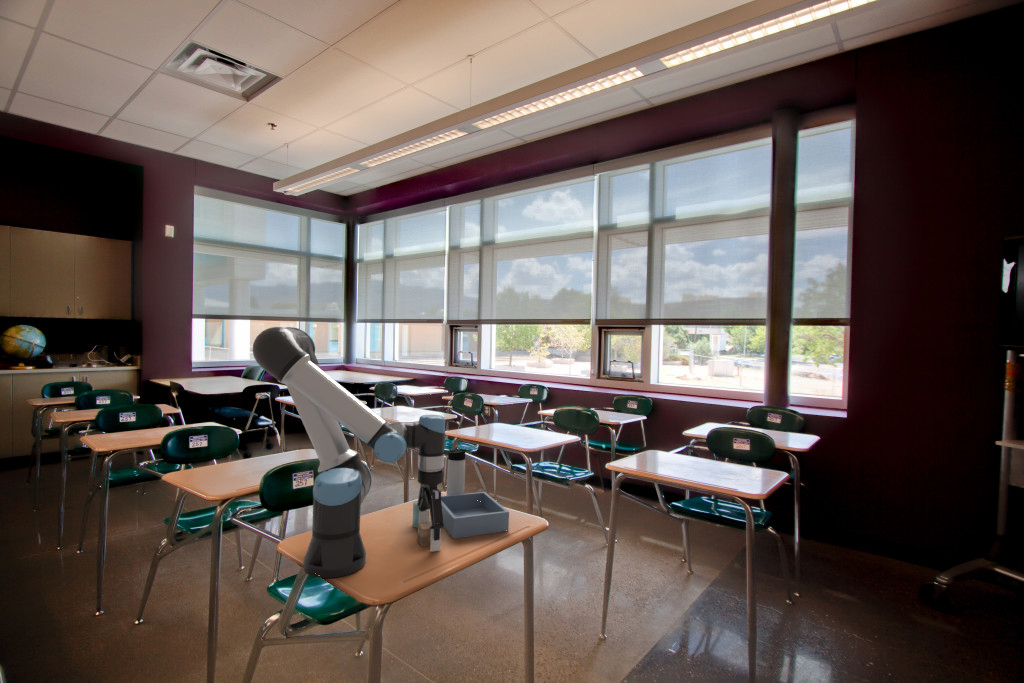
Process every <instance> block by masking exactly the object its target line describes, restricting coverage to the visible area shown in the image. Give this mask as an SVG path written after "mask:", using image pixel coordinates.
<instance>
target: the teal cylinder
mask: <svg viewBox="0 0 1024 683" xmlns="http://www.w3.org/2000/svg"><path fill="white" fill-rule="evenodd" d="M417 503H418V500H415V501H413V503H412V527H413V528H417V529H418V523H419V511H420V510H419V506H418V505H417ZM427 510H428V511H429V512H428V522H429V521H430V509H427Z"/></svg>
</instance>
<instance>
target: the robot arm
mask: <svg viewBox="0 0 1024 683" xmlns="http://www.w3.org/2000/svg"><path fill="white" fill-rule="evenodd" d="M252 355H253V358H254V360H255V362H256V363H257V364H258V365H259V366H260V367H261V368H262V369H263V370H264V371H266V372H267V373H268V374H270V376H272V377H273V378H275V379H276V380H277V382H279V383H280V384H282V385H285V386H286V388H287V390H288V392H289V394H290V397H291V399H292V401H293V403H294V405H295V408H296V411H297V412H298V415H299V417H300V420H301V421H302V425H303V426H304V428H305V431H306V434H307V435H308V438H309V440H310V442H311V444H312V446H313V449H314V451H315V453H316V455H317V458H318V460H319V466H318V468H317V472H318V475H317V476H316V477H315V480H314V483H313V488H312V524H311V525H312V526H311V528H312V531H311V539H310V542H309V545H308V547H307V550H306V552H305V556H304V557H303V571H304V573H306V575H309V576H312V577H315V578H319V579H333V578H340V577H345V576H348V575H352V574H353V573H357V572H358V571H360V570H361V569H362V568H363V567H365V565H366V563H367V562H366V560H367V558H366V557H367V553H366V548H365V546H364V541H363V539H362V538H363V537H362V535H361V510H362V509H361V508H362V504H363V502H364V500H365V498H366V497H367V496H368V494H369V492H370V490H371V487H372V479H373V478H372V473H371V470H370V468H369V466H368V465H367V464H366V463H364V461H362V460H361V457H360V455H359V453H358V451H357V450H354V449H351V448H350V445H349V443H348V442H347V441H348V440H347V439H346V437H345V435H344V432H343V430H342V427H341V425H342V426H343V427H344V428H345V429H347V430H348V431H349V432H350V433H352V434H353V435H355V437H357V438H358V439H359V440H361V441H362V442H364V443H365V444H366V445H367V446H368V447H369V448H371V450H373V451H374V453H375V456H376V458H377V459H378V460H379V461H381V462H382V463H387V464H391V463H395V462H397V461H399V460H400V459H401V458H402V457H403V456H404V455H405V453H406V451H407V449H408V450H409V449H413V450H414V449H415V450H416V449H418V453H417V468H418V470H417V482H418V484H420V486H419V487H420V488H419V493H418V497H417V501H418V503H417V505H418V506H419V510H420V511H419V523H421V522H428V512H429V517H430V521H431V523H432V526H430V529H431V539H430V545H429V550H430V552H439V551H441V540H442V536H441V533H442V529H443V528H444V524H443V514H442V503H441V496H442V491H441V490H439V489H438V485H440V484H442V483H443V482H444V480H445V469H444V467H445V460H447V457H446V456H445V447H446V446H445V445H446V444H445V442H446V420H445V418H444V416H442V415H440V414H423V415H421V416H420V417H418V418H419V419H418V421H416V422H403V421H400V422H399V421H396V422H395V421H386V420H385V419H384V418H383V417H382V416H380V415H379V414H378V413H376V412H375V411H374V410H372V409H371V407H369V406H368V405H366V404H365V403H364V402H362V400H360V399H359V398H358V397H356V396H355V395H354V394H353V393H351V392H350V391H349V390H347V388H345V387H344V386H343V385H341V384H340V383H339V382H337V381H336V380H335V379H333V378H332V376H331V375H329V374H328V373H326V372H325V371H323V370H322V369H321V368H320V366H321V365H320V363H319V360H318V359H317V356H316V344H315V341H314V339H313V338H312V337H311V335H310V334H309V333H307V332H306V331H304V330H302V329H300V328H297V327H293V326H288V327H281V326H273V327H269V328H266V329H263V330H262V331H261V332H260V333H259V334H258V335H257V336H256V338H254V341H253V345H252ZM340 424H341V425H340ZM427 509H429V511H428V510H427ZM315 573H316V574H315ZM318 575H320V576H318ZM322 577H323V578H322Z"/></svg>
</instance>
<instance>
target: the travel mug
mask: <svg viewBox="0 0 1024 683" xmlns="http://www.w3.org/2000/svg"><path fill="white" fill-rule="evenodd" d="M467 452H468V450H467V448H455V449H451V450H449V451H448V452H447V473H446V475H447V477H446V496H447V495H457V494H465V484H466V483H465V482H466V480H465V479H466V453H467Z"/></svg>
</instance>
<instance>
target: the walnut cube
mask: <svg viewBox="0 0 1024 683" xmlns="http://www.w3.org/2000/svg"><path fill="white" fill-rule="evenodd" d="M430 526H432V523H431V520H429V522H421V523H418V528H417V539H416V540H417V541H418V543H419V545H420V546H421V547H427V546H430V539H431V529H430Z"/></svg>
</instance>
